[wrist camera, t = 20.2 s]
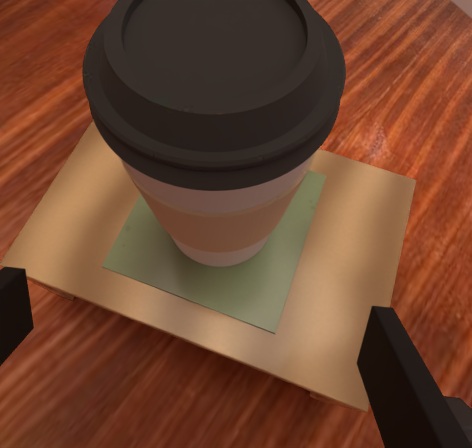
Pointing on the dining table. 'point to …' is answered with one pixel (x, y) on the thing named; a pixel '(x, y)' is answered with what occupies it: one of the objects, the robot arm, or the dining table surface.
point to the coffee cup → (215, 112)
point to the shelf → (231, 267)
